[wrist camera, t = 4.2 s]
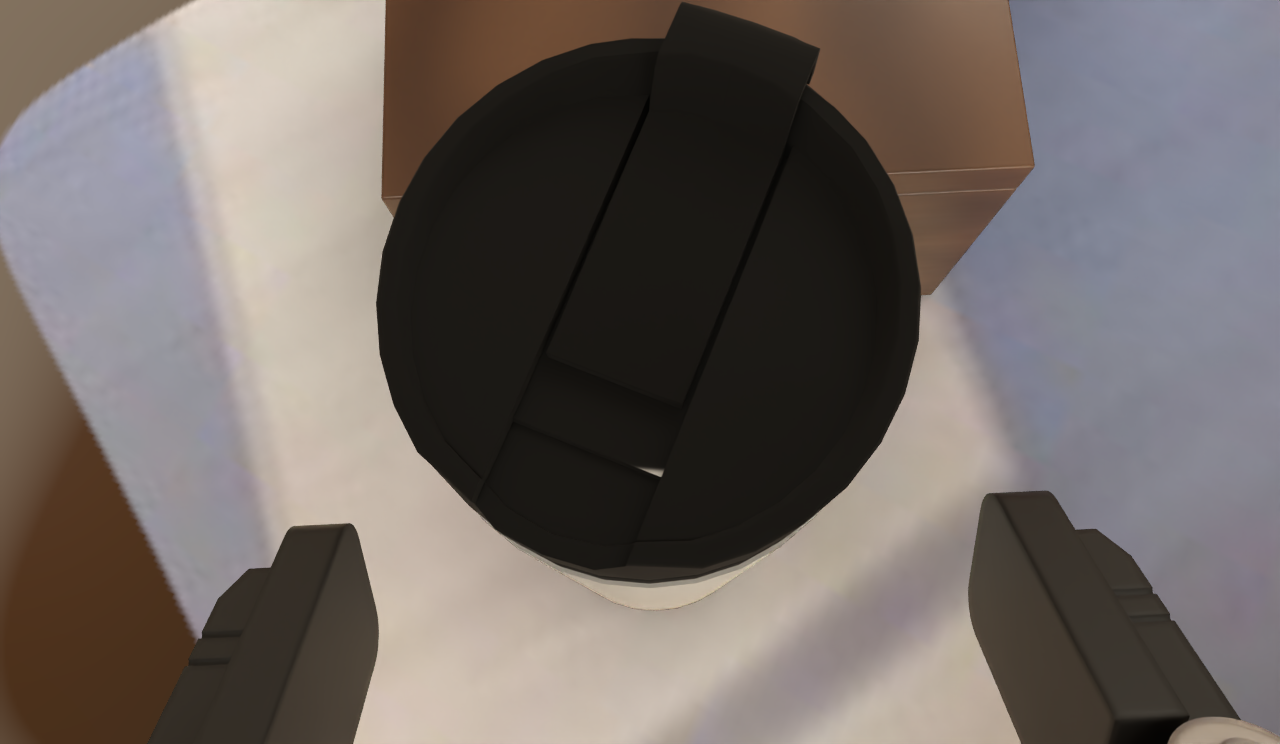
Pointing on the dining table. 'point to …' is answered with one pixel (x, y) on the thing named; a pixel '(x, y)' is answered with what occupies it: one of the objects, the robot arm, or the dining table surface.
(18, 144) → the dining table surface
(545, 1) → the wooden box
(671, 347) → the travel mug
